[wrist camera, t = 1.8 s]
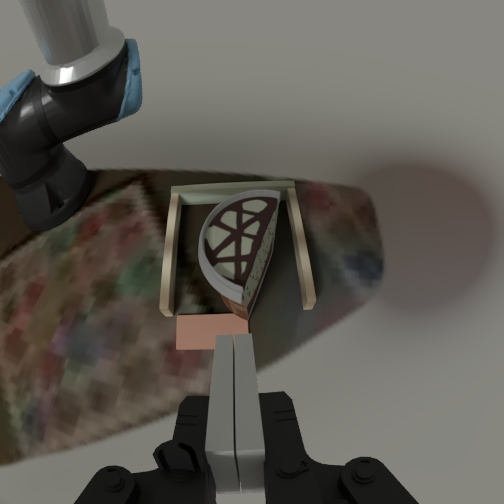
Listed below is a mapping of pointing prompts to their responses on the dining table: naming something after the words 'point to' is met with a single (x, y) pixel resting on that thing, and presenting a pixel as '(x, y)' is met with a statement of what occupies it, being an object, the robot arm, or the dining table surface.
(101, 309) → the dining table surface
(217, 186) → the beige u-shaped frame
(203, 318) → the mat
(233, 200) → the food container
